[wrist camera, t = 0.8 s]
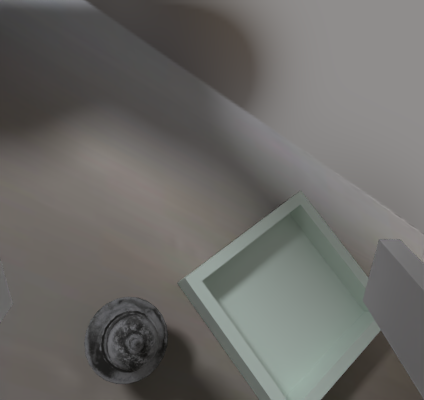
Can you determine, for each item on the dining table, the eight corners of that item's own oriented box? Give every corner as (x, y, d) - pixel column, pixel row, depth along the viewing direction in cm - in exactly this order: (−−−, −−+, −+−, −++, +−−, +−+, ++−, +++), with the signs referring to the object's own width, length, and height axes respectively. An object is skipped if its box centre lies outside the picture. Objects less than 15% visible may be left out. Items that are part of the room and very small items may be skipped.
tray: (176, 282, 31) (184, 278, 28) (284, 202, 37) (300, 190, 34) (273, 420, 30) (293, 431, 27) (370, 314, 36) (395, 312, 32)
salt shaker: (168, 307, 31) (201, 296, 20) (152, 383, 28) (180, 418, 17) (99, 293, 29) (94, 274, 19) (77, 371, 27) (56, 400, 16)
